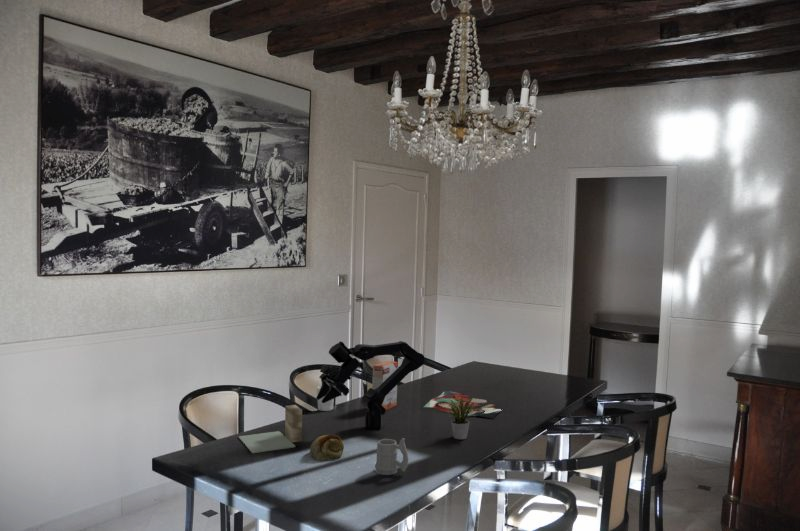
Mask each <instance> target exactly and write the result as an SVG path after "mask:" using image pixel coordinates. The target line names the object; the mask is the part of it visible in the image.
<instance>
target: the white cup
mask: <svg viewBox="0 0 800 531" xmlns="http://www.w3.org/2000/svg"><path fill="white" fill-rule="evenodd" d="M321 386H322V385H318V386H317V387H316V389H317V390H316V392H317V393H316V394H317V395H318V393H319V391H320V389H321ZM323 398H324V397H322V398H321V399H319V400H317V410H318V411H321V412H322V411H323V412H326V411H327V412H328V411H332V410H334V403H335V401H334V400H335V398H334V399H331V400H329V401H327V402H325V403H322V402H321V401H322V400H323Z"/></svg>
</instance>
